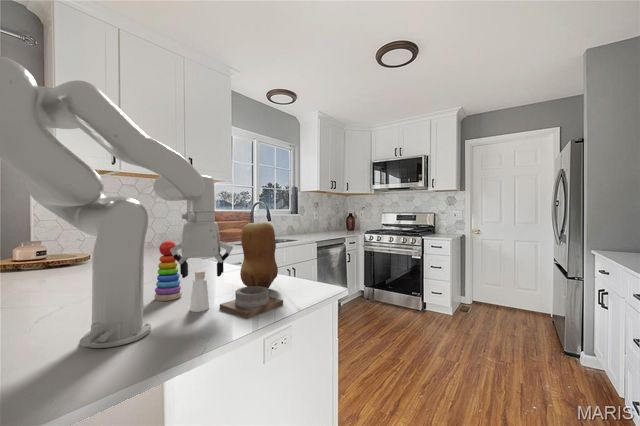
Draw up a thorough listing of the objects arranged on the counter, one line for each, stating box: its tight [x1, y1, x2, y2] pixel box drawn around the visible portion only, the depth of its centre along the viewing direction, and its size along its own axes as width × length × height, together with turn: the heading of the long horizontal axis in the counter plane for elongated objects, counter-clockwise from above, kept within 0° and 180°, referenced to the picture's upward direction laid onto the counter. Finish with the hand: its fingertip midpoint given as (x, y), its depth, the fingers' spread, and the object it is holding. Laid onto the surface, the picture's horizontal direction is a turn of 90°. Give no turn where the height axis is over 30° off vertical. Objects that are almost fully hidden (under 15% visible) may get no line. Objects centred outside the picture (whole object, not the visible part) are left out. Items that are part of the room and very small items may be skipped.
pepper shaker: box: [189, 270, 210, 313], centre depth 83 cm, size 5×5×11 cm
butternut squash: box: [239, 221, 279, 289], centre depth 103 cm, size 14×13×25 cm
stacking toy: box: [153, 240, 183, 302], centre depth 93 cm, size 8×8×19 cm
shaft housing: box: [219, 286, 284, 319], centre depth 85 cm, size 14×12×5 cm
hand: (202, 276), depth 84 cm, fingers open, 9 cm apart
